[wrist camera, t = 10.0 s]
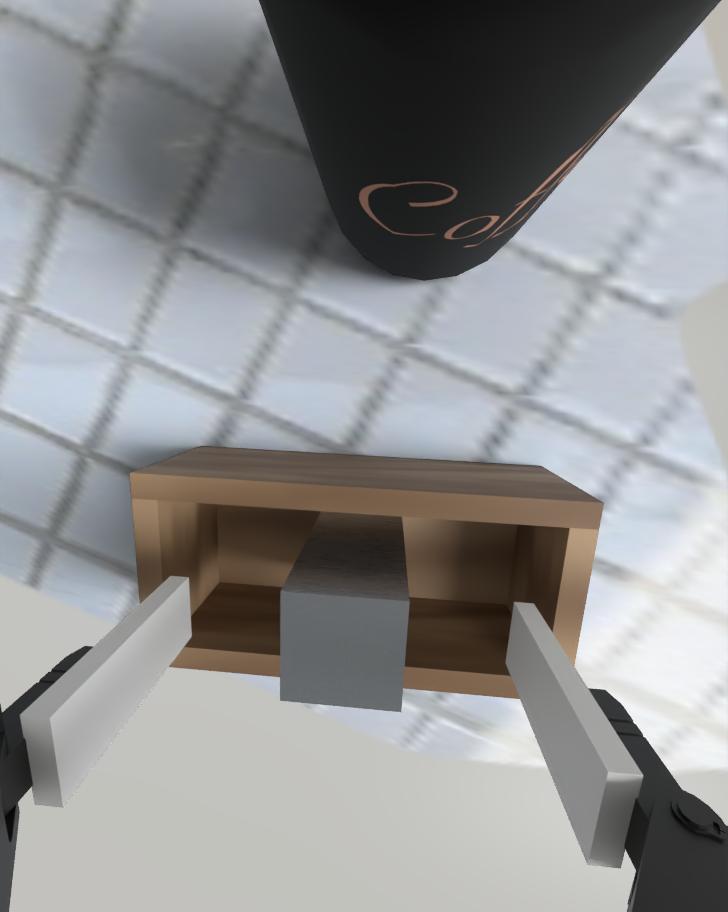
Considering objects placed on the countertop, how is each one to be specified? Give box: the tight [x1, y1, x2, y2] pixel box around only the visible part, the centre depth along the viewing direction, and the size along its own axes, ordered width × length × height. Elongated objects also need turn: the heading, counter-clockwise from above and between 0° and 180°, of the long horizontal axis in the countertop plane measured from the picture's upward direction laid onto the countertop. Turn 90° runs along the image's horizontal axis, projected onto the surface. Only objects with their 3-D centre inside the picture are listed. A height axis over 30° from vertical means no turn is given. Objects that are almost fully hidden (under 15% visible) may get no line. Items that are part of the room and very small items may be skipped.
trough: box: [129, 446, 604, 699], centre depth 21 cm, size 10×21×7 cm, turn 87°
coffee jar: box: [259, 0, 721, 280], centre depth 11 cm, size 11×11×18 cm
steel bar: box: [280, 511, 410, 712], centre depth 19 cm, size 4×4×10 cm
